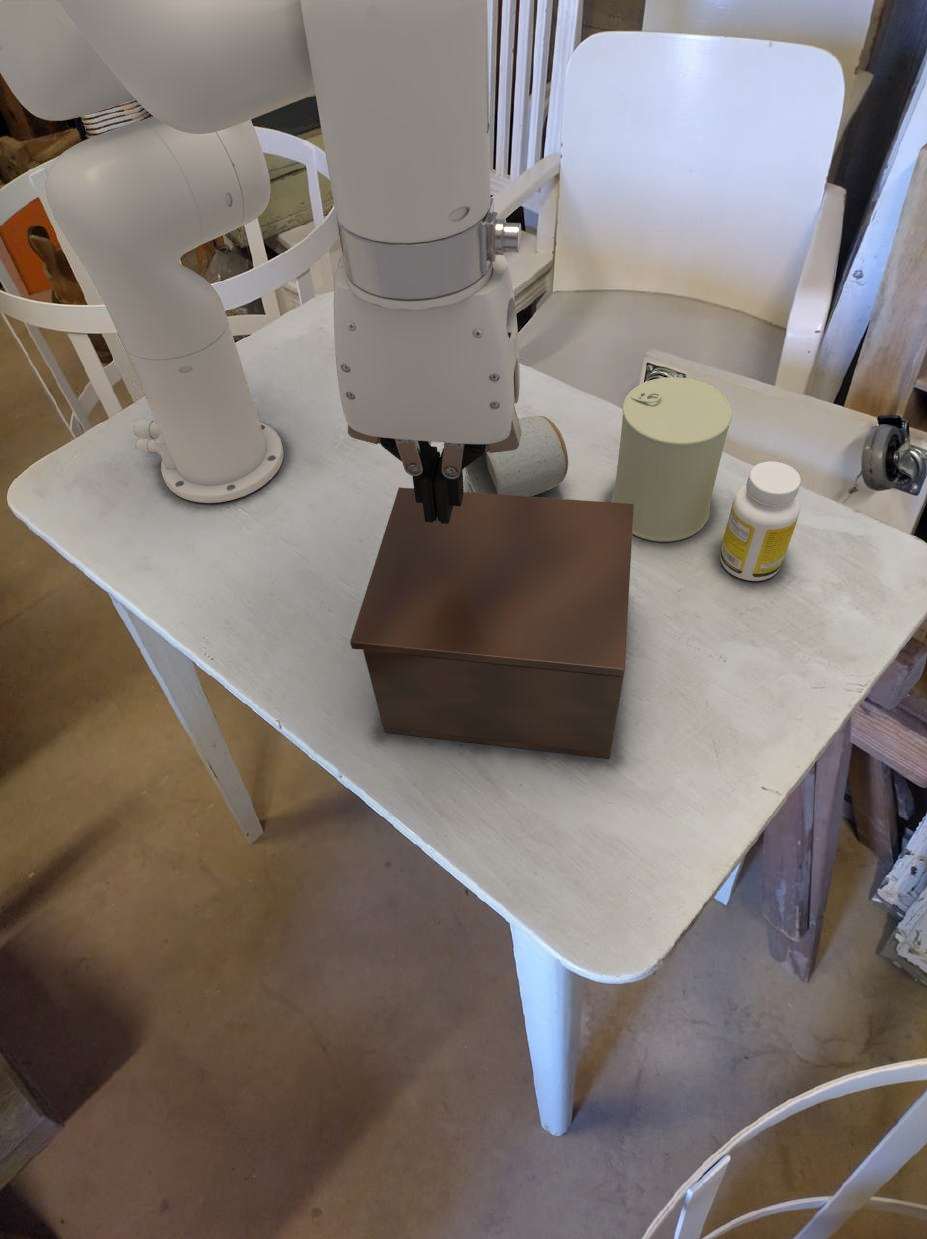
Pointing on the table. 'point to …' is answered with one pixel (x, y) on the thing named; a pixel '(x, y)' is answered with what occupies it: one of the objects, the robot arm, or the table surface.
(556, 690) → the chest
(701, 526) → the can
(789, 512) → the supplement bottle
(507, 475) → the ceramic mug
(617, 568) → the lid
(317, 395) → the table surface
